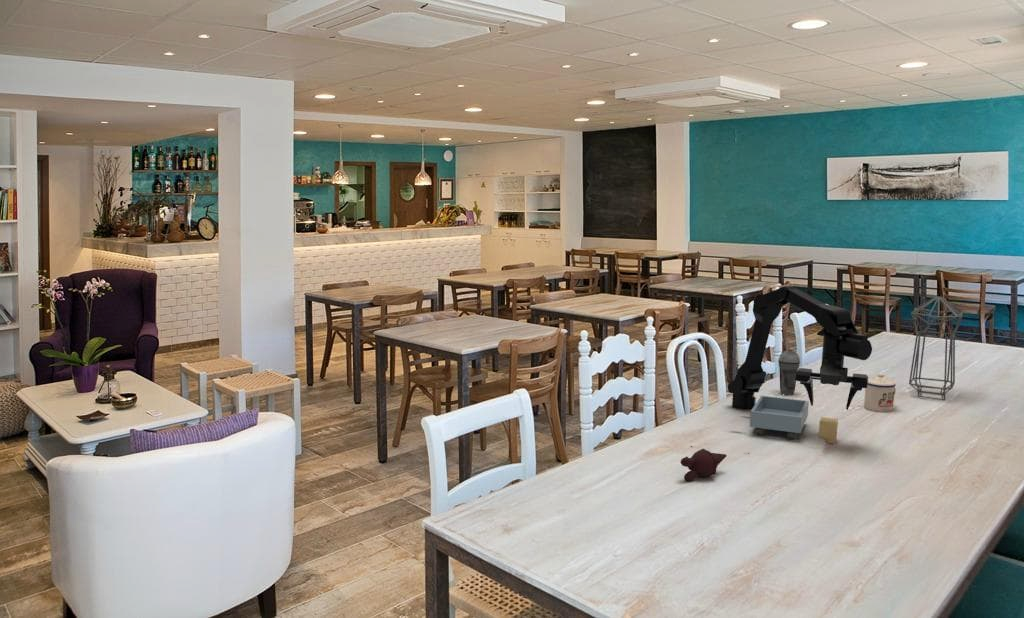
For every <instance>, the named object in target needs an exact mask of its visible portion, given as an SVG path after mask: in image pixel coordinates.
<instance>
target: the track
mask: <svg viewBox="0 0 1024 618" xmlns="http://www.w3.org/2000/svg"><path fill="white" fill-rule="evenodd" d="M735 417H736V418H742V419H750V416H744V415H738V414H737V415H735ZM804 426H806V424H804ZM724 432H725V433H733V434H740V435H747V436H756V437H761V438H762V437H763V438H769V439H777V440H784V441H792V442H799V439H796V438H795V439H794V440H790V439H789V438H788V437H781V436H773V435H767V434H766V435H765V434H761V435H756V434H755V433H752V432H744V431H735V430H728V429H725V430H724Z"/></svg>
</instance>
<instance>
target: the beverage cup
mask: <svg viewBox="0 0 1024 618" xmlns="http://www.w3.org/2000/svg"><path fill="white" fill-rule="evenodd" d="M785 338H786V339H785V340H786V343H785V344H786V350H783V351H782V352H781V353H780V354H779V357H778V360H777V361H778V368H779V371H778V372H779V391H780V392H779V393H781V394H780V395H782V394H784V395H783V396H788V395H791V396H794V395H795V390H796V385H797V384H796V383H797V381H795V376H796V372H797V370H798V369H799V368H800V364H801V361H800V356H799V354H798V353H797V352H796V351H794V350H791V349H789V338H788V337H785Z"/></svg>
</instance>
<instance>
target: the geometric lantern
mask: <svg viewBox="0 0 1024 618" xmlns="http://www.w3.org/2000/svg"><path fill="white" fill-rule="evenodd" d="M933 302H934V304H933V306H932V307H931V309H926V307H928V306H929V305H930V304H932V303H933ZM941 305H942V308H943V310H944V311H940V310H941V309H940V308H941V307H940V306H941ZM935 307H936V308H935ZM946 308H947V309H948V310H947V309H946ZM934 309H935V310H934ZM919 312H923V313H919ZM932 313H935V315H932ZM948 313H950V314H949V315H947V314H948ZM941 314H944V316H940V315H941ZM963 314H964V310H962V309H960V308H959V307H957V306H956V305H954V304H953V303H951V302H950V301H948V300H947V299H945V298H944V297H943V296H934V297H932V298H930V299H929V300H927V301H925V302H923V303H921V304H920V305H918V306H916V307H914V308H913V311H912V312H911V313H910V315H911V317H912V319H913V322H914V328H915V330H914V331H915V341H914V342H915V343H914V348H913V355H912V361H911V366H910V367H911V368H910V374H909V381H908V385H910V386H911V387H912V388H914V389H915V390H916V391H917V394H916V395H917V397H920V398H925V399H932V400H933V399H934V400H940V401H945V400H946V394H947V393H948V392H949V391H950V390H952V389H953V388H954V386H955V381H956V368H955V367H956V334H957V332H958V330H959V327H960V325H961V324H962V320H963ZM922 316H924V317H927V320H925V319H924V318H923V317H922ZM918 318H919V319H920V320H921V321H923V323H926V324H927V326H926V327H925V328H924V329H923V330H922V327H921V325H920V322H919V320H918ZM930 318H932V321H931V320H930ZM957 318H958V320H957V322H956V326H955V329H954V331H953V332H952V330H951V328H950V327H949V325H948V323H947V322H949V321H953V320H954V319H957ZM935 320H937V323H934V321H935ZM940 321H941V322H940ZM944 323H945V325H946V327H947V329H948V330H949V332H946V331H945V330H944V329H943V327H942V324H944ZM917 324H918V326H919V329H920V330H918V327H917ZM931 326H939V328H940V329H941V332H940V331H939V332H938V331H931V330H929V328H930V327H931ZM928 330H929V331H928ZM926 333H932V334H943V335H944V337H943V336H932V335H926ZM922 334H923V335H922ZM947 335H950V336H949V337H948V336H947ZM921 337H923V339H922V347H921V348H922V350H921V356H920V346H921ZM926 338H935V339H945V348H944V349H945V351H944V379H939V378H938V379H937V378H929V377H928V378H926V377H921V375H922V367H923V360H924V351H925V344H926V343H925V342H926ZM948 340H949V348H948ZM948 349H949V350H948ZM919 357H920V359H919ZM919 360H920V361H919ZM947 361H948V362H947ZM919 362H920V364H919ZM918 373H919V374H918ZM949 378H950V379H949ZM921 380H924V381H925V380H926V381H934V382H943V386H942V387H939V386H931V385H926V384H925V385H923V384H922V382H921ZM913 381H914V383H913ZM918 383H919V384H918ZM948 383H950V384H949V385H948V386H947V384H948ZM922 388H923V389H924V388H925V389H937V390H940V392H934V391H933V392H932V391H925V390H922ZM923 393H925V394H931V395H939V396H941V397H933V396H924V395H922V394H923Z"/></svg>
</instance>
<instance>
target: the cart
mask: <svg viewBox="0 0 1024 618" xmlns="http://www.w3.org/2000/svg"><path fill="white" fill-rule="evenodd" d="M809 403H810V400H802V399H794V398H786V397H776V396H768V395H760V397H759V398H758V399H757V400H756V404H755V406H754V407H753V408H752V410H750V415H749V417H750V418H749V427H750V428H753V432H754V433H753V434H756V435H763V432H764V430H773V431H779V432H780V431H781V432H787V433H786V438H789V439H790V440H794V439H796V438H797V434H801V433H802V430H803V428H804V426H805V425H806V424H805V423H806V420H807V419H808V417H809ZM804 424H805V425H804ZM790 440H789V441H790Z"/></svg>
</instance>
